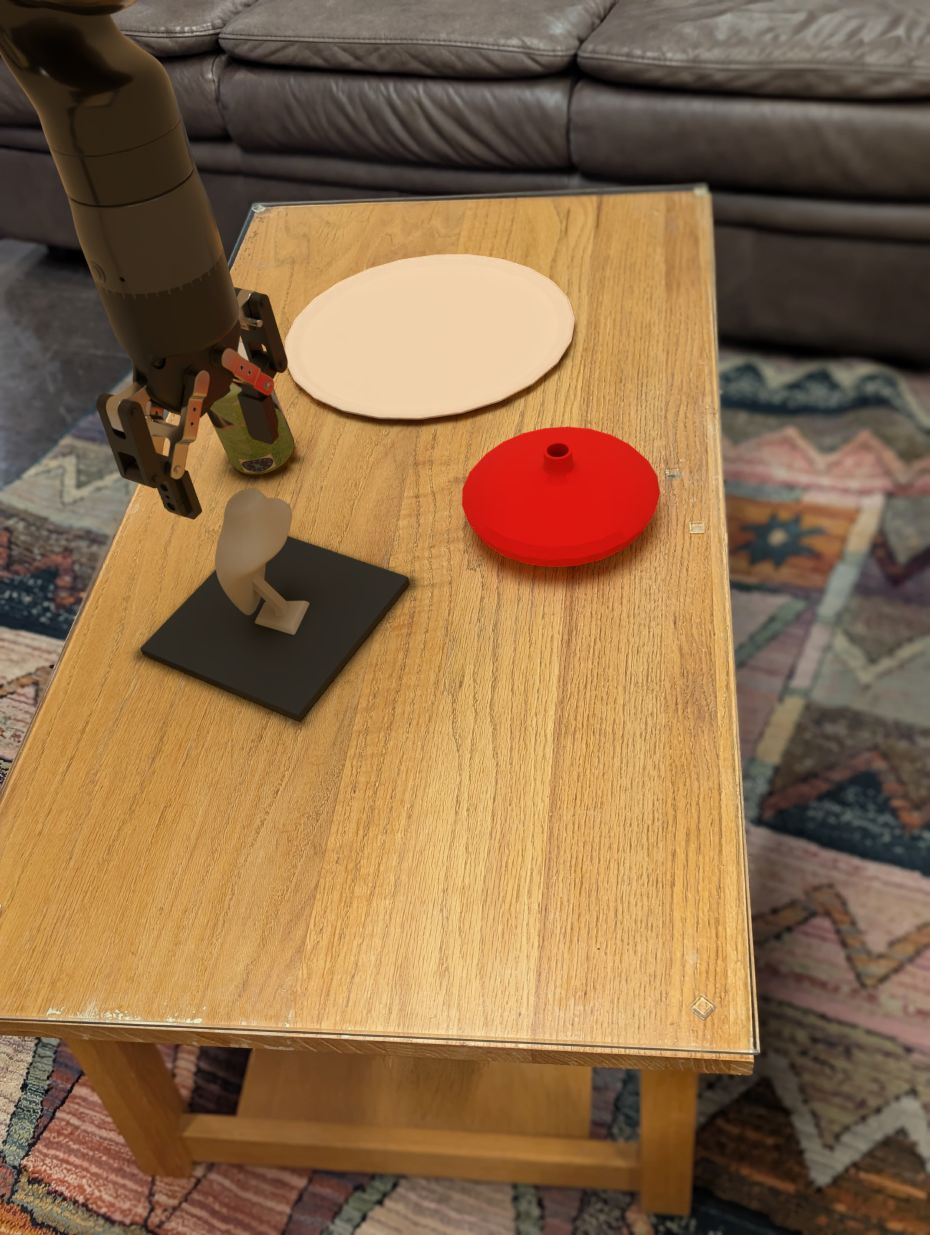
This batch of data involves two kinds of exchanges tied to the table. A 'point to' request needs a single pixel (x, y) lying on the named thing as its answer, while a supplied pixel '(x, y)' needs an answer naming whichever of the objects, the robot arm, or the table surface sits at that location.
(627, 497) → the red disc with nozzle
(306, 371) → the plate
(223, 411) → the beverage can
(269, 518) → the grey rounded body
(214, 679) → the mat
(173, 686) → the table surface
